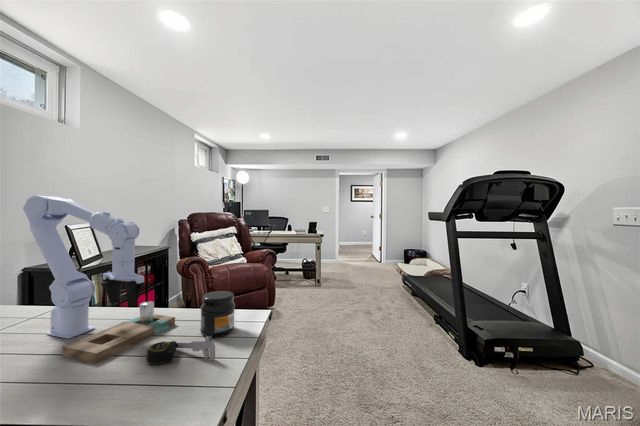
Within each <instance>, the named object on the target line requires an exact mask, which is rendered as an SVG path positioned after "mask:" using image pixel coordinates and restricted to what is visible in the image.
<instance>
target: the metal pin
mask: <svg viewBox="0 0 640 426" xmlns="http://www.w3.org/2000/svg"><path fill="white" fill-rule="evenodd" d="M154 314H155V301H152V300H151V301H143V302H141V303H140V304H139V316H140V324H143V325H148V324H151V323H153V322H154Z"/></svg>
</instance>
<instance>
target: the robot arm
mask: <svg viewBox="0 0 640 426" xmlns="http://www.w3.org/2000/svg"><path fill="white" fill-rule="evenodd" d="M22 209H23V211H24V213H25V215H26V218H27V220H28V222H29V228H30V231H31V233H32V236H33V238H34V240H35V242H36V244H37V246H38V247H39V249H40V251H41V253H42V256H43V257H44V259H45V262H46V264H47V265H48V267H49V270H50V271H51V273H52V276H53V278H54V280H53V281H52V283H50V285H49V286H48V287H49V288H48V289H49V290H50V293H51V294H50V295H51V297H50V299H51V302H52V303H53V304H54V307H53V308H52V310H51V312H50V331H48V332H46V335H48V336H53V337H59V338H64V339H71V338H74V337H76V336H79V335H82V334H84V333H87V332H90V331H92V330H94V329H96V326H92V325H89V316H90V315H89V314H90V312H89V311H90V309H89V308H90V306H89V305H90V301H91V297H93V296H94V294H95V292H96V285H95V283H94V282H93V281H92V280H90V279H89V277H88V275H87V274H85V273H84V272H81V271H78V270H77V268H76V265H75V264H74V261H73V260H72V258H71V255H70V254H69V252H68V250H67V248H66V246H65V244H64V242H63V240H62V238H61V235H60V234H59V231H58V230H57V227H58V225H60V224H61V223H62V222H63V220H65V218H66V217H68V215H69V216H73V217H75V218H77V219H80V220H82V221H85V222H87V223H88V225H89V227H90V228H91V229H93V230H95V231H98V232H100V233H102V234H105V235H106V236H108V239H110V240H111V246H112V260H111V261H112V264H111V265H112V266H111V268H112V269H111V272H110V271H107V272H103V273H102V280H104V281H100V282H101V283H100V284H101V286H102V287H103V288H104V289H103V290H105V291H104V292H105V293H106V295H107V299H108V302H109V304H114V303H117V302H118V301H119V295H120V294H119V293H120V287H121V284H122V282H128V283H124V284H123V287H124V289H125V292H126V296H127V299H126V300H127V306H128V307H132V306H135V305H136V304H137V301H138V299H139V295H140V293H141V291H142V289H143V287H144V286H145V284H146V282H145V276H144V275H140V274H138V273H135V262H136V261H135V258H136V255H135V253H136V251H135V250H136V239H137V238H138V237H139V235H140V228H139V226H138V225H137V224H136V223H134V222H133V221H127V222H125V221H124V219H123V218H117V217H115V216H114V215H113V216H112V215H111V213H110V211H98V212H95V211H93V210H91V209H90V208H87V207H85V206H83V205H81V204H80V203H77V202H75V201H74V199H70V198H68V197H66V196H47V195H46V196H45V195H38V194H36V195H35V194H34V195H31V196H29V197H28V198H27V200H26V201H25V203H24V205H23V207H22Z"/></svg>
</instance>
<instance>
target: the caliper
mask: <svg viewBox="0 0 640 426" xmlns="http://www.w3.org/2000/svg"><path fill="white" fill-rule="evenodd" d="M175 341H176V340H175ZM161 342H171V340H170V341H167V340H166V341H165V340H164V341H161ZM176 343H177V344H178V347H177V348H176V349H192V352H200V351H202V354H203V356H204V359H205V361H208V360H210V362H212V361H214V360H215V359H216V343H215V340H214V339H213V337H212V336H210V337H208V336H205V337H204V339H193V340H192V341H189V340H188V341H183V340H182V341H179V340H177V341H176Z"/></svg>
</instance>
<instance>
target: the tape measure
mask: <svg viewBox="0 0 640 426" xmlns="http://www.w3.org/2000/svg"><path fill="white" fill-rule="evenodd" d="M170 341H171V340H170ZM177 347H178V344H177V343H176V340H172V341H171V342H162V341H159V342H155V343H153V344H152V345H150V346H149V347H148V348H147V350H146V353H145V358H146V362H147V363H148V364H151V365H161V364H164V363H168V362H169V363H170V362H171V361H173V360H174V358H175V353H176V350H177V349H178V348H177Z"/></svg>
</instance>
